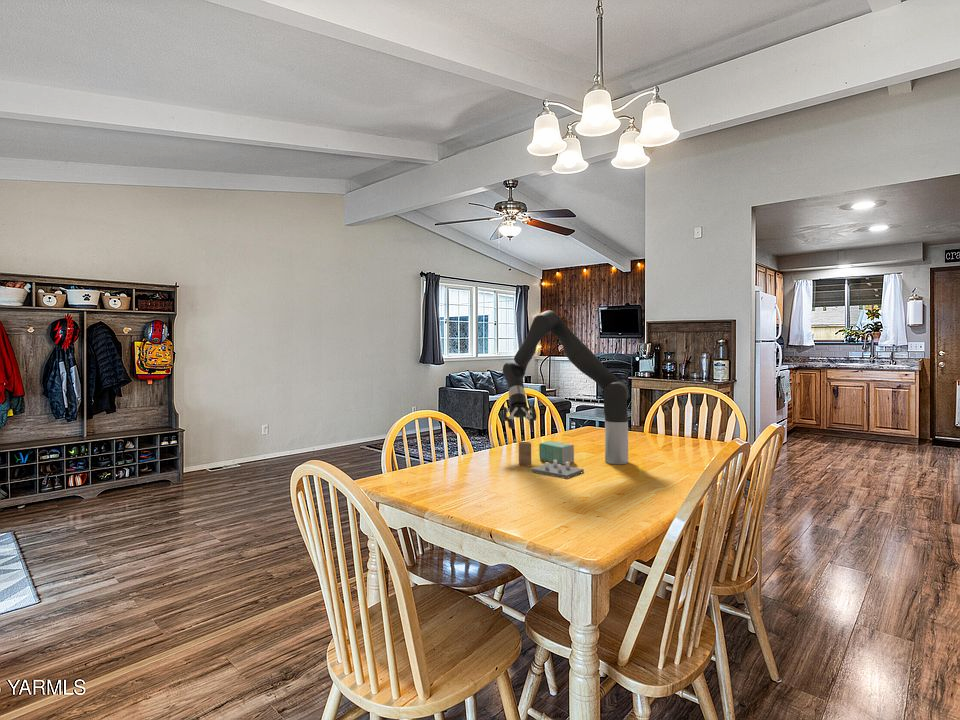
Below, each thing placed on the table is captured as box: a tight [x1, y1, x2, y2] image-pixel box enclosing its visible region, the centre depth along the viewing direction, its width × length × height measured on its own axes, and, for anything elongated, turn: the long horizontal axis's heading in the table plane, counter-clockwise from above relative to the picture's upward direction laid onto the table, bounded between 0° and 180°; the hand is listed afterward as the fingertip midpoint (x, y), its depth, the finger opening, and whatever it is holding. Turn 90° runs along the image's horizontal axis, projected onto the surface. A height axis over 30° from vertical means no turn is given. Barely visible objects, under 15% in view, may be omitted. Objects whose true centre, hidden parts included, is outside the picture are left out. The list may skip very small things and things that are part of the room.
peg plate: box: [531, 460, 585, 479], centre depth 208 cm, size 12×16×4 cm
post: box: [518, 441, 532, 467], centre depth 221 cm, size 4×4×9 cm
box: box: [538, 440, 575, 465], centre depth 228 cm, size 7×14×8 cm, turn 38°
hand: (521, 427), depth 231 cm, fingers open, 8 cm apart
